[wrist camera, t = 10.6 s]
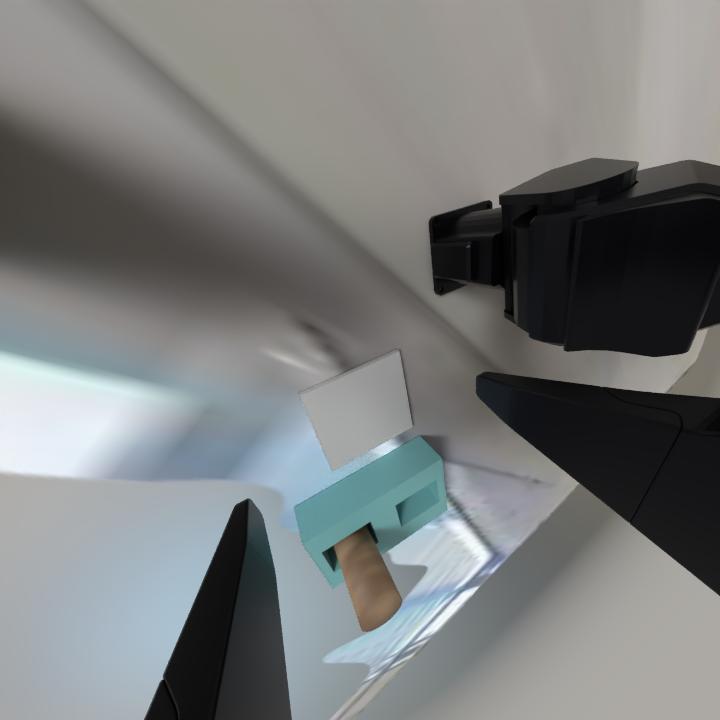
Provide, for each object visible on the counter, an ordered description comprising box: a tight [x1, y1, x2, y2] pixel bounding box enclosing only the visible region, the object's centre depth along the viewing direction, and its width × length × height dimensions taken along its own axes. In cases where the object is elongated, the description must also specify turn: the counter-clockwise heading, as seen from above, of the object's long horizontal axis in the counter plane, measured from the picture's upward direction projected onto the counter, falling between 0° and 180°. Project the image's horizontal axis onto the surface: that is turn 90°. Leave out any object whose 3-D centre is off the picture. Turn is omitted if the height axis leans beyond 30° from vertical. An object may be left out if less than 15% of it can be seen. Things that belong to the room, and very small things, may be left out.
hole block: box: [294, 436, 447, 588], centre depth 29 cm, size 16×10×4 cm, turn 105°
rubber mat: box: [298, 349, 413, 471], centre depth 25 cm, size 10×10×1 cm
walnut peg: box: [333, 525, 402, 632], centre depth 26 cm, size 4×4×10 cm
